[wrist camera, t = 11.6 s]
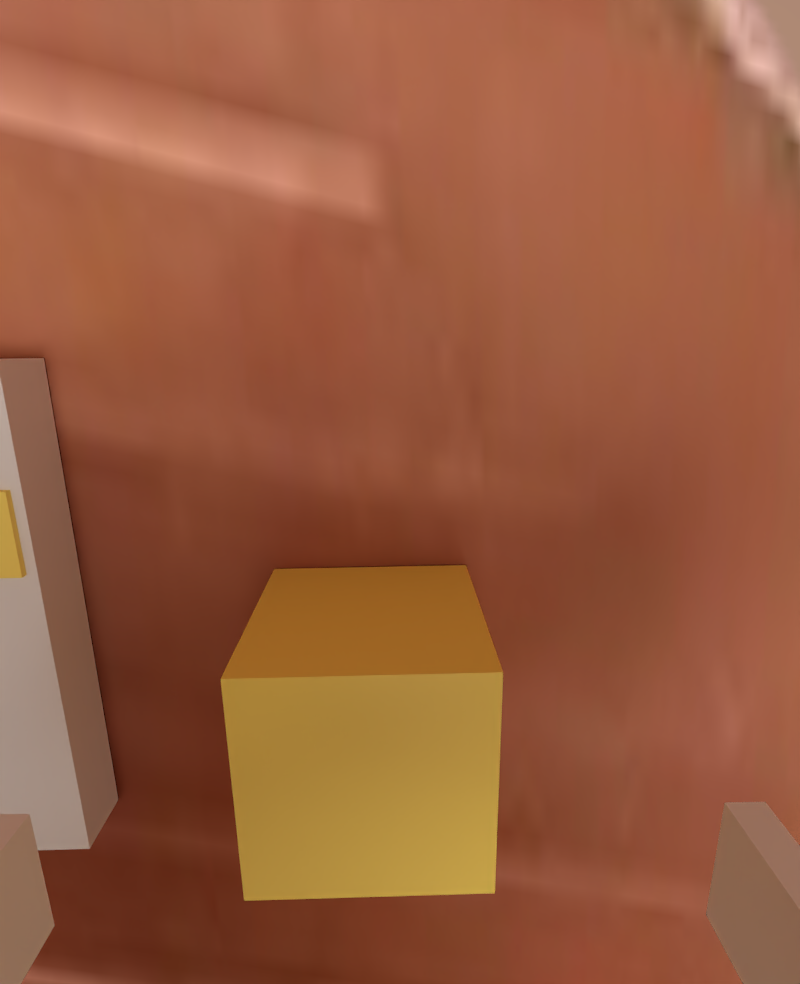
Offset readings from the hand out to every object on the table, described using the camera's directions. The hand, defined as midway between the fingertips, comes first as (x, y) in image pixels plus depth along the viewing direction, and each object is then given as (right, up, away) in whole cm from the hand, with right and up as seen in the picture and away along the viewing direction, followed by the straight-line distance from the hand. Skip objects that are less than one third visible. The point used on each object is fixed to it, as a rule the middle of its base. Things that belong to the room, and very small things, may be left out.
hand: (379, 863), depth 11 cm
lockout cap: (0, +2, +8) cm, 8 cm away
